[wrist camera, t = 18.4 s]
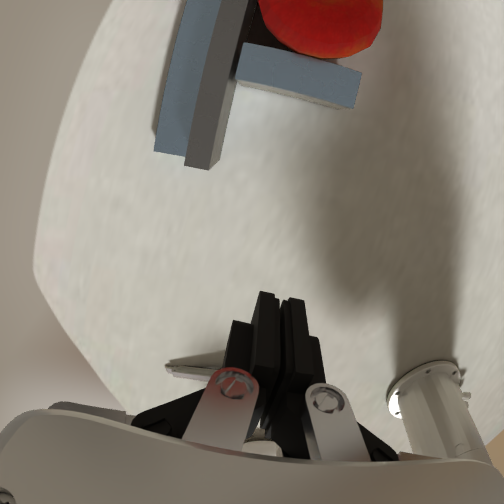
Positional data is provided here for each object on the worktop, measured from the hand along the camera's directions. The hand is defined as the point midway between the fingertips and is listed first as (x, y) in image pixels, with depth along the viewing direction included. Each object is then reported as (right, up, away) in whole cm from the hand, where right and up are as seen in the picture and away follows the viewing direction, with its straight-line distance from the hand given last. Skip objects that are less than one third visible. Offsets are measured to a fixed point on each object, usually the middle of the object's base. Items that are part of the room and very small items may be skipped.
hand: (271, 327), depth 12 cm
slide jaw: (+3, +18, +14) cm, 23 cm away
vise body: (0, +21, +13) cm, 25 cm away
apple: (+5, +24, +12) cm, 27 cm away
